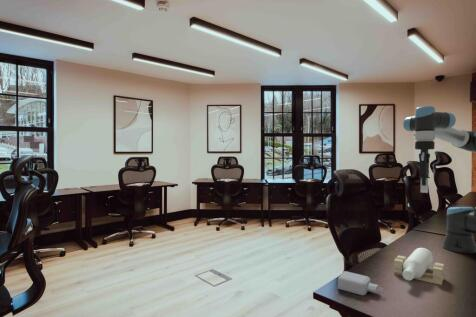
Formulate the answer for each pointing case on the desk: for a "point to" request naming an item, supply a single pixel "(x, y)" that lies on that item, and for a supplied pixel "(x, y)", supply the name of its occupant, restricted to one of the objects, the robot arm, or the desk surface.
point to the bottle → (417, 263)
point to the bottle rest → (428, 277)
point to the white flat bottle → (356, 283)
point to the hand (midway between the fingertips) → (424, 192)
